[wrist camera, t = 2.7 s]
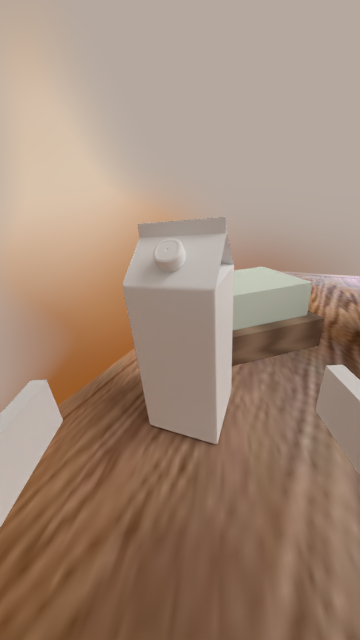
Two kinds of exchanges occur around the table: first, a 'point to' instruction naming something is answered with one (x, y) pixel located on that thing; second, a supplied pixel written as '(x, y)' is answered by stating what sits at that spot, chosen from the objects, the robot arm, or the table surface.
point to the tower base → (276, 338)
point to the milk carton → (183, 323)
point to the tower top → (267, 297)
